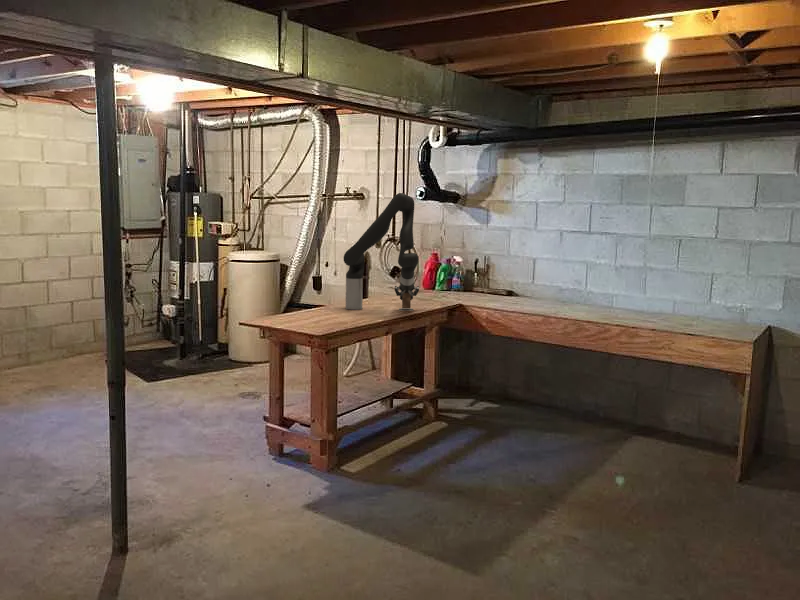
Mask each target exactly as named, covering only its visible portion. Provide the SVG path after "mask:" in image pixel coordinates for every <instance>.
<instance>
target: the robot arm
mask: <svg viewBox="0 0 800 600" xmlns="http://www.w3.org/2000/svg"><path fill="white" fill-rule="evenodd" d="M399 212H401V213H402V217H403V221H402V225H401V228H400V231H399V243H400V244H399V246H400V247H399V249H400V250H399V254H398V257H397V263H398V265H399V266H400V267H401V268H400V278H399V286H397V285H395V286H394V292H395V295H396V296H397V297H399V299H400V300H401V301H402V296H403V294H404V293H409V294H410V295H411V301H412V300H413V298H414V297H417V295H418V293H419V292H420V287H419V285H417V286H415V270H416V268H417V266H418V263H419V259H420V258H419V256H418V254H417V253H415V252H407V251H410V250H412V249H414V247H415V243H414V213H415V200H414V198H413V197H412V196H410V195H408V194H405V193H403V192H398V193H396V194H395V195H394V196H393V198H392V199H390V201H389V203H388V204H387V206H386V207H385V208H384V210H383V211H382V212H381V213H380V214H379V216H378V217H377V218H376V219H375V220H374V221H373V222H372V223H371V225H369V226H368V228H367V229H366V231H365V232H363V234H362V235H361V236H360V237H359V239H358V240H357V241H356V242H355V243H354V244H353V245H352V246H351V247H350V248H349V249H347V250H346V251H345V252H344V255H343V262H344V264H345V265H346V266H348V270H347V271H346V274H345V310H354V311H356V310H357V311H358V310H363V290H364V289H363V286H364V285H363V284H364V283H363V278H364V277H363V275H364V272H365V253H366V252H367V251H368V250H369V249H371V248H372V247H374V246H375V245H376V244H378V243H379V242H380V241H381V240H382V239H383V238H384V237H385V236H386V235H387V233H388V232H389V230H390V227H391V222H392V220H393V218H394V217H395V216H396V214H397V213H399ZM406 252H407V253H406ZM399 290H400V291H399Z"/></svg>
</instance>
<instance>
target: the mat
mask: <svg viewBox="0 0 800 600" xmlns="http://www.w3.org/2000/svg"><path fill="white" fill-rule="evenodd" d="M398 311H401V312H403V311H404V312H405V311H406V312H407V311H408V312H411V311H412V312H414V308H411V307H410V308H402V307H398Z"/></svg>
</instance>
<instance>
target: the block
mask: <svg viewBox="0 0 800 600" xmlns="http://www.w3.org/2000/svg"><path fill="white" fill-rule="evenodd" d="M401 301H402V302H401V308H411V304H412V303H411V301H412V300H411V295H410V294H409V293H404V294H403V296H402V300H401Z"/></svg>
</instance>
